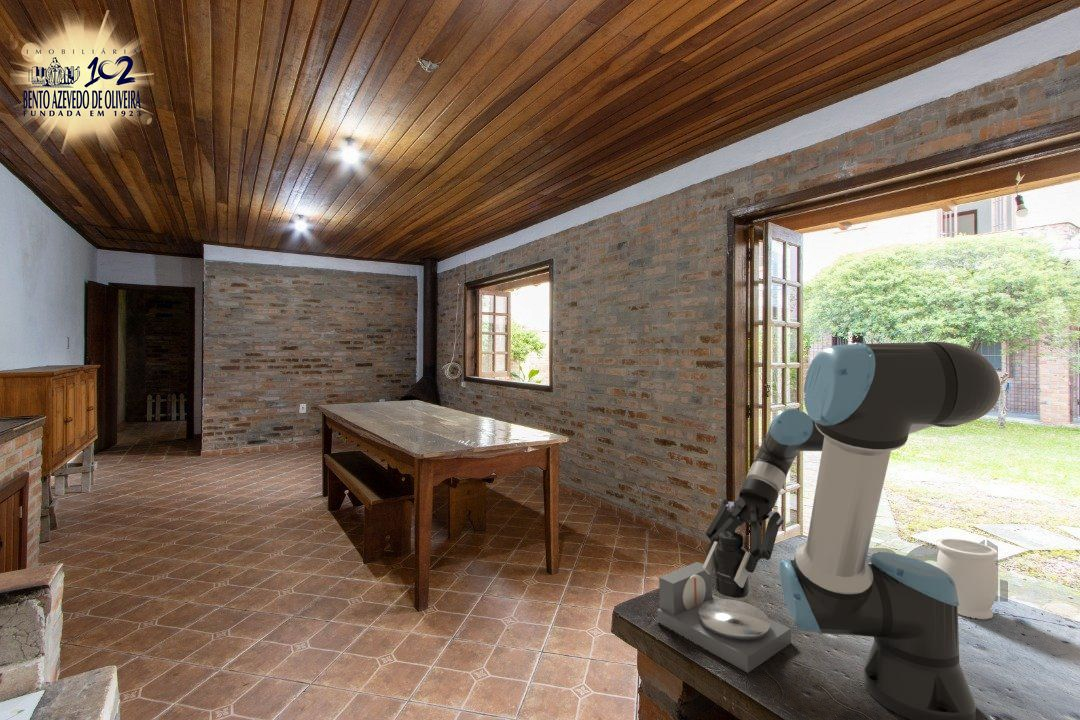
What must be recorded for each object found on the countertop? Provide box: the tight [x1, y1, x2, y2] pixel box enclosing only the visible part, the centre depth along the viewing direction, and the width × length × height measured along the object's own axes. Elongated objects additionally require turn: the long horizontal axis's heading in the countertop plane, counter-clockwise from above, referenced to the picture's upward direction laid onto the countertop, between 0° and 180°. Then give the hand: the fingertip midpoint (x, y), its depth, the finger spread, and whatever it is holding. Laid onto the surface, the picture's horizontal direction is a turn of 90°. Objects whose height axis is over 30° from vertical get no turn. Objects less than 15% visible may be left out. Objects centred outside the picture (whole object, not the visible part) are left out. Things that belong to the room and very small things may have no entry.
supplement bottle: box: [714, 531, 750, 599], centre depth 101 cm, size 7×7×12 cm
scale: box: [656, 561, 792, 674], centre depth 102 cm, size 22×16×10 cm
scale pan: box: [699, 598, 770, 640], centre depth 100 cm, size 14×14×1 cm
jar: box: [936, 538, 999, 620], centre depth 109 cm, size 11×10×15 cm
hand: (722, 577), depth 98 cm, fingers closed on supplement bottle, 7 cm apart
